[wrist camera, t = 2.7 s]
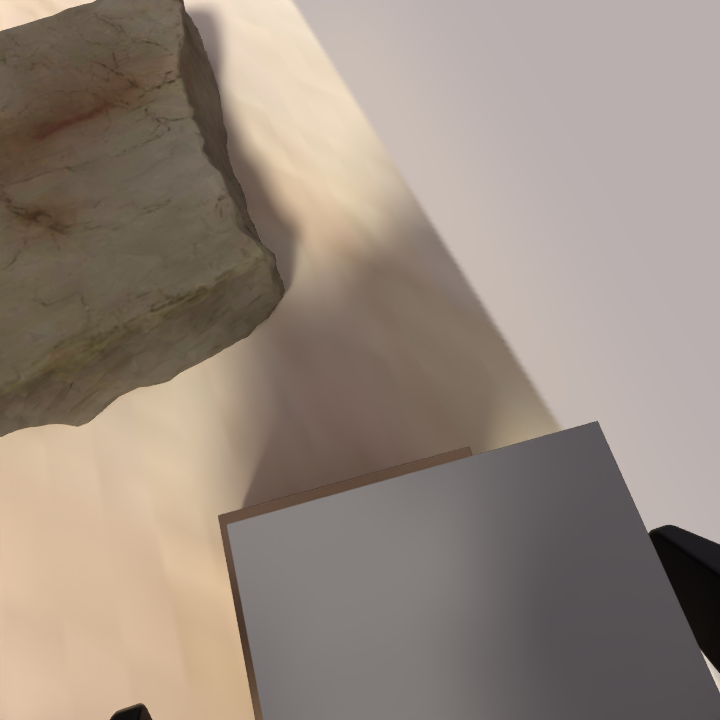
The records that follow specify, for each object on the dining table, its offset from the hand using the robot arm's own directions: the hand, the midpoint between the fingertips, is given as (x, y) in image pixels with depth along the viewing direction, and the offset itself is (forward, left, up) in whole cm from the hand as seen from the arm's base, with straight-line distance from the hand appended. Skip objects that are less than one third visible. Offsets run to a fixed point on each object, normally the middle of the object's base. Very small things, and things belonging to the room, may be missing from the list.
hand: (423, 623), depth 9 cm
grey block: (0, 0, -4) cm, 4 cm away
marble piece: (+17, +4, -9) cm, 19 cm away
